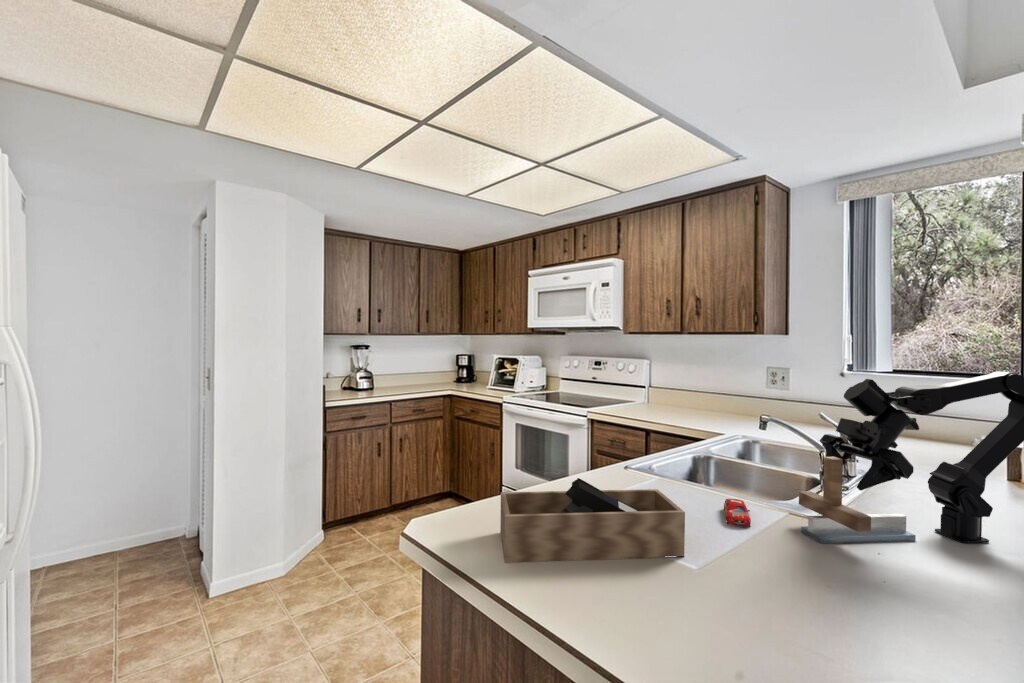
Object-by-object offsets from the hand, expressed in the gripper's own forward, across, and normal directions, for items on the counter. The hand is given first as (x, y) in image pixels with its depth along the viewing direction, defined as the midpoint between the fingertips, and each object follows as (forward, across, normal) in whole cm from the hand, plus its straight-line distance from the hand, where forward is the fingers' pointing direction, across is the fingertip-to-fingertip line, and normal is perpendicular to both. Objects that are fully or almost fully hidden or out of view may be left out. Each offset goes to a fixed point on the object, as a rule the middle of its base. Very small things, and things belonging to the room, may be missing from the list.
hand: (839, 482), depth 105 cm
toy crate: (+48, -5, -32) cm, 58 cm away
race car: (+20, -13, -2) cm, 24 cm away
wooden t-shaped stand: (+7, 0, +4) cm, 8 cm away
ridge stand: (+6, 0, +12) cm, 13 cm away
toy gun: (+46, -6, -29) cm, 54 cm away
